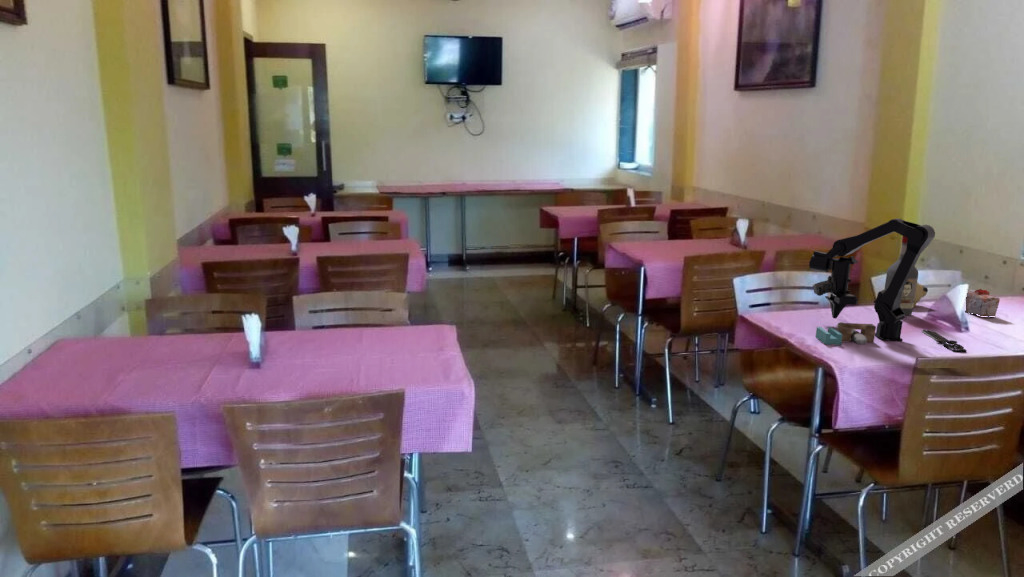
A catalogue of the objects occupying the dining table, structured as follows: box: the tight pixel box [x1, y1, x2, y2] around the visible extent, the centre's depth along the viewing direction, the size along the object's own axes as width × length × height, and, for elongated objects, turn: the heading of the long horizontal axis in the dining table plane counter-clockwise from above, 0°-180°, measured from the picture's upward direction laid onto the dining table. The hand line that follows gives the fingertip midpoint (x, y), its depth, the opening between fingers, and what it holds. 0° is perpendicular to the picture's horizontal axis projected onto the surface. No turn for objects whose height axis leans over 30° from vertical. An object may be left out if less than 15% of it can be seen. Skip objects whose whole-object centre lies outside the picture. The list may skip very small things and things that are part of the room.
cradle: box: [815, 326, 843, 346], centre depth 251 cm, size 5×8×4 cm, turn 0°
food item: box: [966, 288, 1001, 317], centre depth 293 cm, size 14×8×10 cm, turn 10°
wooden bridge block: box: [837, 322, 877, 343], centre depth 252 cm, size 11×3×5 cm, turn 90°
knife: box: [921, 329, 967, 354], centre depth 256 cm, size 25×6×1 cm, turn 171°
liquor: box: [883, 236, 919, 317], centre depth 288 cm, size 9×9×30 cm
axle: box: [836, 321, 868, 345], centre depth 257 cm, size 3×16×3 cm, turn 1°
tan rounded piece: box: [913, 281, 929, 308], centre depth 303 cm, size 10×12×11 cm
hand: (834, 318), depth 269 cm, fingers closed
